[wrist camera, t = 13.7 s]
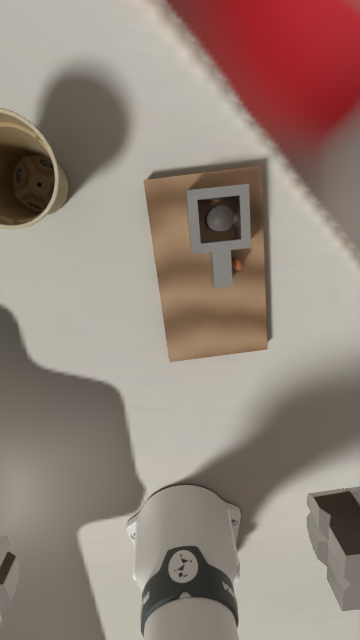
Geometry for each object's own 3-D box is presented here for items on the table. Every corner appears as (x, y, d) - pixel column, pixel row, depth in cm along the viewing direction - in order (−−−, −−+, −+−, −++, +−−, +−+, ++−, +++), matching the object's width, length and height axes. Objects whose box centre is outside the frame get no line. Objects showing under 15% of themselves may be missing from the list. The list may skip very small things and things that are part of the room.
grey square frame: (184, 193, 33) (186, 190, 30) (241, 187, 33) (249, 183, 30) (193, 285, 36) (195, 290, 33) (245, 279, 36) (251, 284, 33)
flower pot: (79, 137, 32) (50, 106, 24) (88, 228, 35) (64, 228, 27) (-9, 137, 32) (-70, 106, 24) (7, 229, 35) (-43, 229, 26)
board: (263, 345, 41) (278, 362, 35) (169, 357, 40) (170, 376, 35) (257, 168, 34) (274, 156, 29) (144, 182, 34) (140, 173, 28)
